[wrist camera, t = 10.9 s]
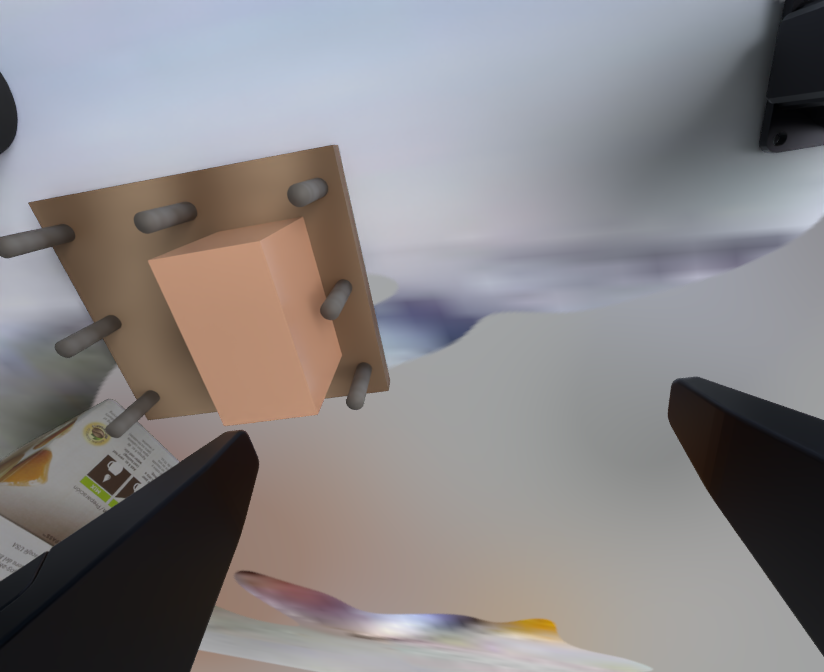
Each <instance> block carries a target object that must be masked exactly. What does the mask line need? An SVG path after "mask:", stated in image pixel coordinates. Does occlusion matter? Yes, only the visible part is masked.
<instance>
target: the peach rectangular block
mask: <svg viewBox="0 0 824 672" xmlns="http://www.w3.org/2000/svg"><path fill="white" fill-rule="evenodd" d="M148 263H149V265H150V267H151V269H152V271H153V273H154V275H155V278H156V280H157V282H158V284H159V286H160V288H161V291H162V293H163V295H164V297H165V299H166V301H167V304H168V306H169V308H170V310H171V312H172V314H173V317H174V319H175V321H176V323H177V325H178V327H179V330H180V332H181V334H182V336H183V338H184V340H185V342H186V345H187V347H188V349H189V351H190V353H191V355H192V358H193V360H194V362H195V364H196V366H197V368H198V371H199V373H200V375H201V377H202V379H203V381H204V384H205V386H206V388H207V390H208V392H209V394H210V397H211V399H212V401H213V403H214V405H215V407H216V409H217V412H218V414H219V416H220V418H221V420H222V422H223V425H224V426H230V425H238V424H247V423H255V422H263V421H271V420H278V419H287V418H295V417H303V416H310V415H317V414H318V413H319V411H320V408H321V406H322V403H323V401H324V398H325V396H326V393H327V391H328V389H329V386H330V384H331V381H332V379H333V376H334V374H335V371H336V369H337V367H338V364H339V362H340V359H341V357H342V353H341V350H340V346H339V343H338V339H337V336H336V332H335V328H334V325H333V321H332V320H327V319H325V318H324V317H323V316H322V315H321V313H320V308H321V306H322V304H323V302H324V301H325V299H326V296H325V293H324V289H323V286H322V282H321V279H320V275H319V271H318V268H317V264H316V261H315V257H314V254H313V250H312V247H311V243H310V239H309V236H308V232H307V229H306V225H305V222H304V218H303V217H298V218H292V219H287V220H281V221H276V222H270V223H264V224H259V225H253V226H248V227H242V228H236V229H231V230H225V231H220V232H216V233H214V234H211V235H209V236H207V237H204V238H202V239H199V240H197V241H194V242H192V243H189V244H187V245H184V246H182V247H180V248H177V249H175V250H172V251H170V252H167V253H165V254H162V255H160V256H157V257H155V258H153V259H150V260H148Z"/></svg>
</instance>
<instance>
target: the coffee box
mask: <svg viewBox="0 0 824 672" xmlns="http://www.w3.org/2000/svg"><path fill="white" fill-rule="evenodd" d="M124 411H125V409H124V408H123V407H122V406H121V405H120V404H119V403H118V402H116V401H115V400H113V399H107V400H105V401H103V402H101V403H99V404H97V405H96V406H94V407H92V408H90V409H89V410H87V411H85V412H83V413H81V414H79V415H78V416H76V417H74V418H72V419H71V420H69V421H67V422H65V423H63V424H62V425H60V426H58V427H56V428H54V429H52V430H51V431H49V432H47V433H45V434H43V435H41V436H40V437H38V438H36V439H34V440H32V441H31V442H29V443H27V444H25V445H23V446H22V447H20V448H18V449H16V450H15V451H13V452H12V453H11V454H9V455H8V456H6V457H5V458H4V459H2V460H1V461H0V581H1V580H3V579H4V578H6V577H7V576H9V575H10V574H12V573H14V572H15V571H17V570H18V569H20V568H21V567H23V566H24V565H26V564H27V563H29V562H30V561H32V560H33V559H35V558H36V557H38V556H39V555H41V554H42V553H44V552H46V551H49V550H50V549H51V548H52V547H53V546H55V545H56V544H58V543H59V542H61V541H62V540H64V539H65V538H67V537H68V536H70V535H71V534H73V533H74V532H76V531H77V530H79V529H80V528H82V527H83V526H85V525H86V524H88V523H89V522H91V521H92V520H94V519H95V518H97V517H98V516H100V515H101V514H103V513H104V512H106V511H107V510H109V509H110V508H112V507H113V506H115V505H116V504H118V503H119V502H121V501H122V500H124V499H125V498H127V497H128V496H130V495H131V494H133V493H134V492H136V491H137V490H139V489H140V488H142V487H143V486H145V485H146V484H148V483H149V482H151V481H152V480H154V479H155V478H157V477H158V476H160V475H161V474H163V473H164V472H166V471H167V470H169V469H170V468H172V467H173V466H175V465H176V464H178V463H179V461H178V460H177V459H176V458H175V457H174V456H173V455H172V454H171V453H170V452H169V451H168V450H167V449H166V448H165V447H164V446H162V445H161V444H160V443H159V442H158V441H157V440H156V439H155V438H154V437H153V436H152V435H151V434H150V433H149V432H148V431H147V430H146V429H145V428H144V427H143V426H142V425H140V424H139V423H138V422H136V423H135V424H134V425H133V426H132V427H131V428H130V429H129V430H128V431H126V432H125V433H124V434H123V435H122V436H121V437H120V438H113V437H111V436H109V435H108V434H107V433H106V430H105V428H106V426H107V425H109V424H110V423H111V422H112V421H113V420H114V419H115V418H117V417H118V416H119V415H120V414H121V413H122V412H124Z"/></svg>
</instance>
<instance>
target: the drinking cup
mask: <svg viewBox="0 0 824 672" xmlns="http://www.w3.org/2000/svg"><path fill="white" fill-rule="evenodd" d="M16 129H17V112H16V106H15V102H14V99H13V96H12V93H11V91H10V89H9V86H8V84H7V82H6V81H5V79H4V77H3V75H2V74H1V72H0V153H1V152H3V151H4V150H6V149H7V148H8V147H9V145H10V144H11V143H12V141H13V139H14V136H15V133H16Z"/></svg>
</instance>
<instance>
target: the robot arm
mask: <svg viewBox="0 0 824 672" xmlns="http://www.w3.org/2000/svg"><path fill="white" fill-rule="evenodd" d="M777 134H779V140H778V142H777V143H776V144H775V145H774V143H773V140H774V138H775V136H776V135H777ZM820 145H824V0H785V5H784V10H783V16H782V21H781V23H780V26H779V31H778V37H777V42H776V48H775V53H774V59H773V64H772V69H771V75H770V80H769V86H768V91H767V103H766V108H765V113H764V119H763V124H762V130H761V135H760V141H759V147H760V148H761V150H762V151H764V152H769V153H778V152H784V151H790V150H796V149H802V148H808V147H814V146H820ZM668 419H669V422H670V425H671V427H672V428H673V430H674V432H675V434H676V436H677V438H678V439H679V441H680V443H681V445H682V446H683V448H684V450H685V452H686V454H687V456H688V457H689V459H690V461H691V462H692V465H693V466H694V468H695V470H696V472H697V474H698V475H699V477H700V479H701V481H702V482H703V484H704V486H705V487H706V489H707V490H708V492H709V494H710V495H711V497H712V498H713V500H714V501H715V503H716V504H717V506H718V507H719V509H720V510H721V511H722V513H723V514H724V516H725V517H726V518H727V520H728V521H729V523H730V524H731V526H732V527H733V528H734V530H735V531H736V533H737V534H738V536H739V537H740V538H741V540H742V541H743V543H744V544H745V545H746V547H747V548H748V550H749V551H750V552H751V554H752V555H753V557H754V558H755V560H756V561H757V562H758V564H759V565H760V567H761V568H762V569H763V571H764V572H765V574H766V575H767V577H768V578H769V580H770V581H771V582H772V584H773V585H774V587H775V588H776V589H777V591H778V592H779V594H780V595H781V597H782V598H783V599H784V601H785V602H786V604H787V605H788V606H789V608H790V609H791V611H792V612H793V614H794V615H795V616H796V618H797V619H798V621H799V622H800V624H801V625H802V626H803V628H804V629H805V631H806V632H807V634H808V635H809V636H810V638H811V639H812V641H813V642H814V644H815V645H816V646H817V648H818V649H819V651H820V652H821V653H822V655H823V656H824V420H822V419H819V418H816V417H814V416H811V415H808V414H805V413H802V412H799V411H796V410H793V409H790V408H787V407H784V406H781V405H779V404H776V403H773V402H770V401H767V400H764V399H761V398H758V397H755V396H752V395H750V394H747V393H744V392H741V391H738V390H735V389H732V388H729V387H726V386H723V385H720V384H718V383H715V382H712V381H709V380H706V379H703V378H700V377H688V378H679V379H676V380H674V381H673V383H672V385H671V392H670V399H669V407H668ZM258 469H259V460H258V456H257V454H256V451H255V449H254V447H253V444H252V442H251V440H250V437H249V435H248V434H247V432H246V431H244V430H236V431H228V432H225V433H223V434H222V435H220V436H219V437H217V438H216V439H214V440H213V441H211V442H210V443H208V444H207V445H205V446H204V447H202V448H200V449H199V450H198V451H196V452H194V453H193V454H191V455H190V456H188V457H187V458H185V459H184V460H182V461H181V462H179V463H178V464H176V465H175V466H173V467H172V468H170V469H169V470H167V471H166V472H164V473H163V474H161V475H160V476H158V477H157V478H155V479H154V480H152V481H151V482H149V483H148V484H146V485H145V486H143V487H142V488H140V489H139V490H137V491H136V492H134V493H133V494H131V495H130V496H128V497H127V498H125V499H124V500H122V501H121V502H119V503H118V504H116V505H115V506H113V507H112V508H110V509H109V510H107V511H106V512H104V513H103V514H101V515H100V516H98V517H97V518H95V519H94V520H92V521H91V522H89V523H88V524H86V525H85V526H83V527H82V528H80V529H79V530H77V531H76V532H74V533H73V534H71V535H70V536H68V537H67V538H65V539H64V540H62V541H61V542H59V543H58V544H56V545H55V546H53V547H52V548H51V549H50V550H49V551H46V552H44V553H42V554H41V555H39V556H38V557H36V558H35V559H33V560H32V561H30V562H29V563H27V564H26V565H24V566H23V567H21V568H20V569H18V570H17V571H15V572H14V573H12V574H10V575H9V576H7V577H6V578H4V579H3V580H1V581H0V672H190V671H191V668H192V665H193V663H194V660H195V657H196V654H197V652H198V649H199V646H200V644H201V641H202V638H203V636H204V633H205V630H206V628H207V625H208V622H209V620H210V617H211V614H212V612H213V609H214V606H215V603H216V601H217V598H218V596H219V593H220V590H221V587H222V585H223V582H224V579H225V577H226V574H227V571H228V569H229V566H230V563H231V561H232V558H233V555H234V552H235V550H236V547H237V544H238V542H239V539H240V536H241V533H242V529H243V525H244V523H245V519H246V515H247V511H248V507H249V504H250V500H251V496H252V492H253V488H254V485H255V480H256V477H257V473H258Z"/></svg>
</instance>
